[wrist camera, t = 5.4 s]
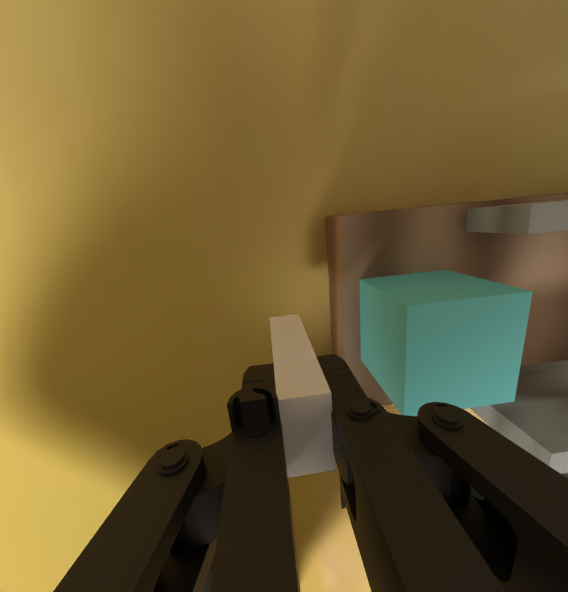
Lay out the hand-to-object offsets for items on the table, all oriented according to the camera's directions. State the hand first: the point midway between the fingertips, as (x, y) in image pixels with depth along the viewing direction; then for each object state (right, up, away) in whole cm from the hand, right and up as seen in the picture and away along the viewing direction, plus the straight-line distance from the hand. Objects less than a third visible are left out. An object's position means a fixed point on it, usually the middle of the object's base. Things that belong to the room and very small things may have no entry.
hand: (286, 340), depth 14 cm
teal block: (+7, +1, +2) cm, 7 cm away
